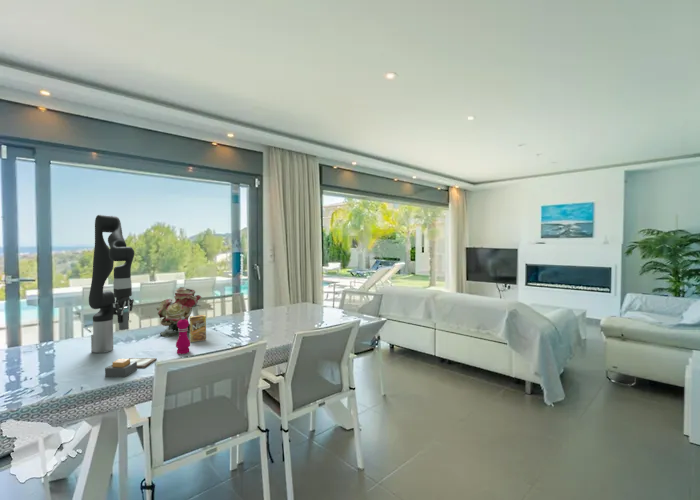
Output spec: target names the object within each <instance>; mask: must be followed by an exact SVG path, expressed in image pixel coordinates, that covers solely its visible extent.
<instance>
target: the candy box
mask: <svg viewBox="0 0 700 500" xmlns="http://www.w3.org/2000/svg"><path fill="white" fill-rule="evenodd" d="M189 324H190V333H189V340H190V343H196V342H202V341H207V315H205V314H201V315H200V314H198V315H193V316H191V315H190V316H189Z"/></svg>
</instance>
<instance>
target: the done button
mask: <svg viewBox="0 0 700 500" xmlns="http://www.w3.org/2000/svg"><path fill="white" fill-rule="evenodd" d="M128 364H130V359H129V358H118V359H116V360H114V361H112V364H111V365H112V367H125V366H126V365H128Z"/></svg>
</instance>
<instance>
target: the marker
mask: <svg viewBox="0 0 700 500" xmlns="http://www.w3.org/2000/svg"><path fill="white" fill-rule="evenodd" d="M120 309H122V308H120ZM120 313H121V310H120ZM118 330H119V331H125V330H129V320H128V308H125V310H124V311H123V323H118Z"/></svg>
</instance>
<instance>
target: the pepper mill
mask: <svg viewBox="0 0 700 500" xmlns="http://www.w3.org/2000/svg"><path fill="white" fill-rule="evenodd" d="M189 324H190V320H189V319H188V320H186V319H185V317H182V318H181V320H179V321H178V322H177V327H178V331H177V332H179V335H178V338H177V340H176V343H175V347H176V348H177V349H176V353H177V354H178V355H185V354H188V353H190V347H191V342H190V338H189V336H188V335H187V331H188V328H187V327H188V326H189Z"/></svg>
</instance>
